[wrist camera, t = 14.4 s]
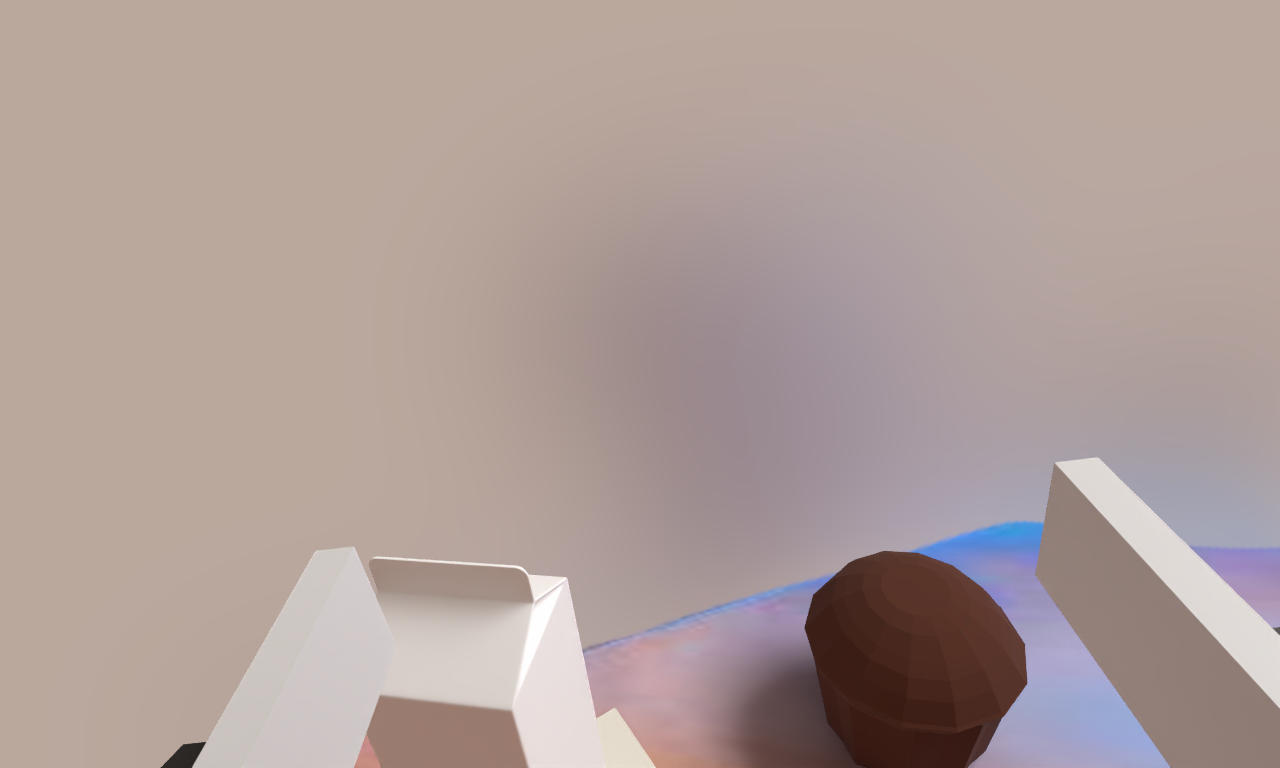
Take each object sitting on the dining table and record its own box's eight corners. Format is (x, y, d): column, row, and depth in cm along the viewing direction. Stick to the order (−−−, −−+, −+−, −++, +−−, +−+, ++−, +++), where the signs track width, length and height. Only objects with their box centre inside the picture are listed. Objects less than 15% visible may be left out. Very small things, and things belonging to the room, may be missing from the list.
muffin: (1052, 804, 36) (1088, 670, 32) (838, 826, 37) (843, 695, 32) (953, 628, 47) (970, 508, 42) (787, 645, 47) (786, 527, 43)
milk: (595, 998, 31) (493, 643, 20) (467, 971, 32) (311, 626, 22) (625, 852, 36) (556, 510, 26) (515, 834, 37) (406, 502, 27)
